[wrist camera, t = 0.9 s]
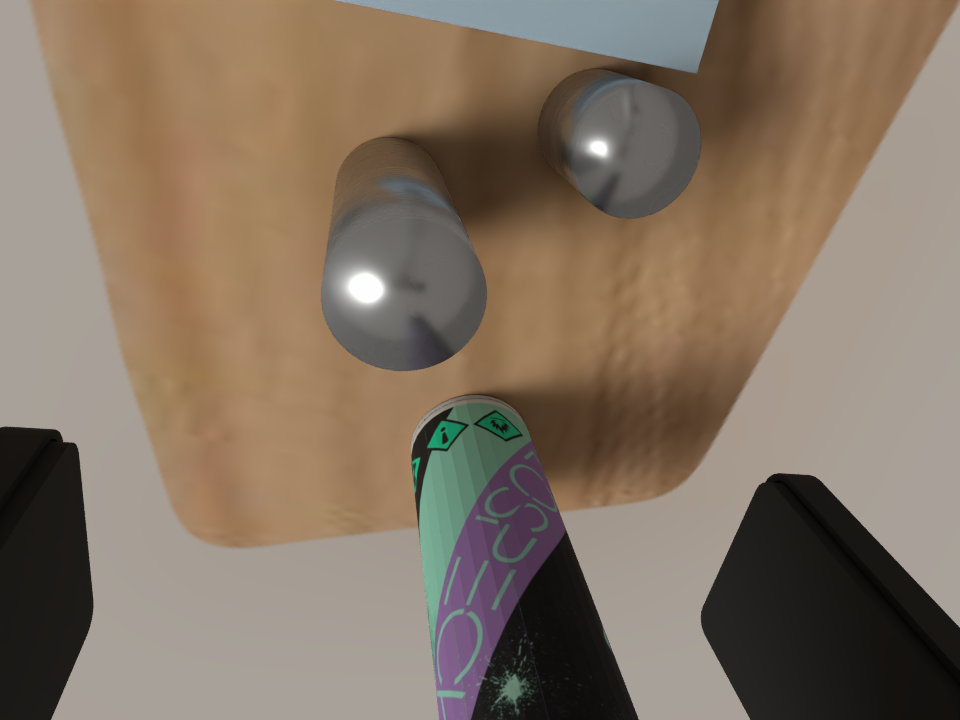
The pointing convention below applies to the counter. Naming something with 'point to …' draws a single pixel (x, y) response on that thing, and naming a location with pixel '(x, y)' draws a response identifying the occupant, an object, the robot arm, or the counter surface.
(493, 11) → the collar block
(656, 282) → the counter surface
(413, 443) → the spray can
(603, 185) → the short pin
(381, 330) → the long pin
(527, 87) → the counter surface
